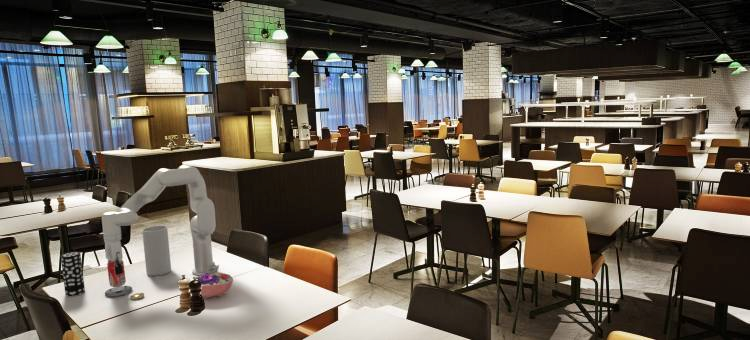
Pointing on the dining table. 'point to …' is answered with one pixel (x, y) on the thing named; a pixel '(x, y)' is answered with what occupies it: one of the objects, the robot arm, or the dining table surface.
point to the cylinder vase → (156, 250)
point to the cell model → (215, 284)
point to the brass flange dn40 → (137, 296)
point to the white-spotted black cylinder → (72, 273)
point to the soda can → (113, 278)
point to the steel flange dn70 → (118, 291)
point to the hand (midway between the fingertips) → (116, 271)
